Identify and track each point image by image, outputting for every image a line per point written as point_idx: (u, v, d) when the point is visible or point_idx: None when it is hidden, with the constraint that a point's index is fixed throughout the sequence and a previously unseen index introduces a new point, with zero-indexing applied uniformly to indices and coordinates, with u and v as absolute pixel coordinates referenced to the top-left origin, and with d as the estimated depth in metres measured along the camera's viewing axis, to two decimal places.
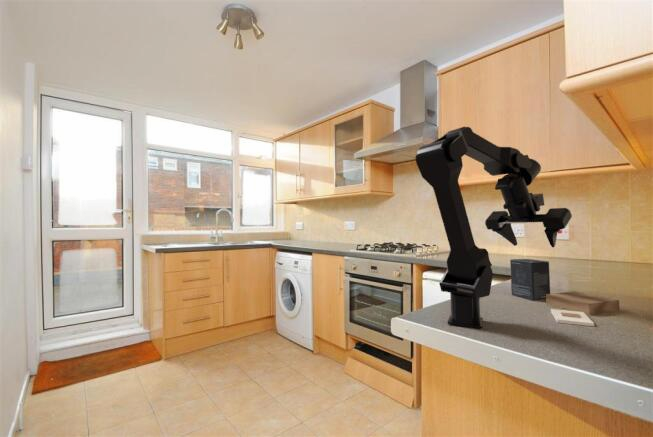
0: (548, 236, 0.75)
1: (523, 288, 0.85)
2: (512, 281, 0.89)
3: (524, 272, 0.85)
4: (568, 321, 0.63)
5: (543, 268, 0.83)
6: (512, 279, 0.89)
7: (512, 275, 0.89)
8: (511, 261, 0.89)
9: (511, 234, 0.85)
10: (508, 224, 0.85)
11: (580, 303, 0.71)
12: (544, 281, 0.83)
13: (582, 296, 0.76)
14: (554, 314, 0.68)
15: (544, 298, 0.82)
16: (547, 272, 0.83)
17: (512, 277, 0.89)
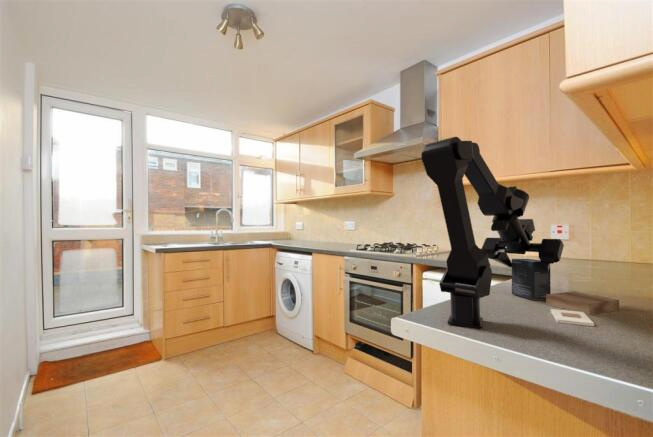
0: (543, 265, 0.79)
1: (523, 287, 0.85)
2: (512, 280, 0.89)
3: (525, 271, 0.85)
4: (568, 321, 0.63)
5: None
6: (513, 278, 0.89)
7: (513, 274, 0.89)
8: (512, 260, 0.89)
9: (506, 258, 0.89)
10: None
11: (580, 303, 0.71)
12: (545, 281, 0.83)
13: (582, 296, 0.76)
14: (554, 314, 0.68)
15: (544, 298, 0.82)
16: (548, 272, 0.83)
17: (513, 276, 0.89)
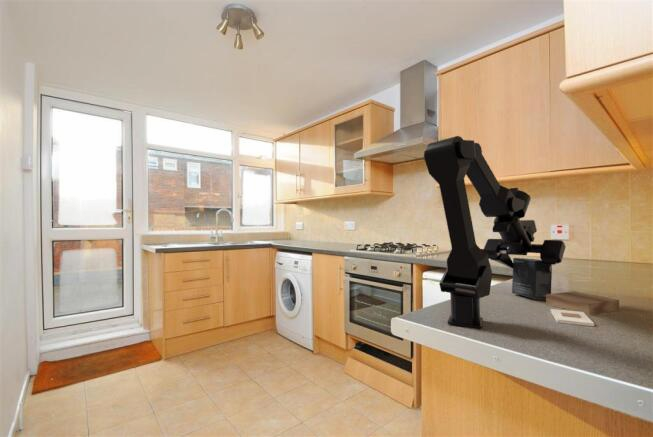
0: (545, 266, 0.79)
1: (524, 286, 0.85)
2: (513, 279, 0.89)
3: (527, 270, 0.85)
4: (568, 321, 0.63)
5: None
6: (514, 277, 0.89)
7: (514, 273, 0.89)
8: (514, 259, 0.89)
9: (508, 259, 0.89)
10: None
11: (580, 303, 0.71)
12: (546, 280, 0.83)
13: (582, 296, 0.76)
14: (554, 314, 0.68)
15: (545, 297, 0.83)
16: (549, 272, 0.83)
17: (514, 275, 0.89)
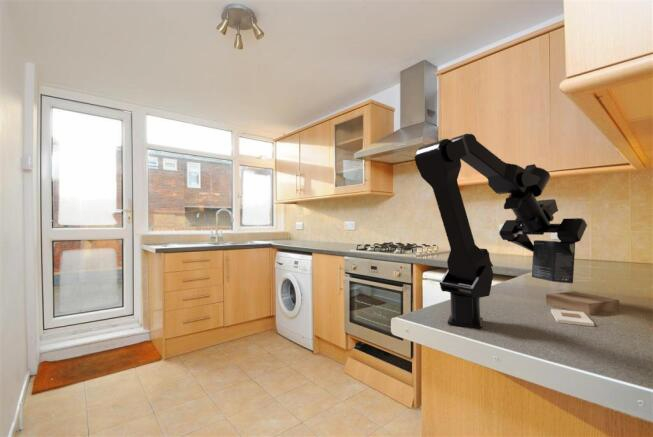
0: (565, 246, 0.75)
1: (543, 269, 0.81)
2: (533, 263, 0.85)
3: (546, 252, 0.80)
4: (568, 321, 0.63)
5: None
6: (533, 261, 0.85)
7: (534, 256, 0.85)
8: (534, 242, 0.85)
9: (528, 241, 0.85)
10: None
11: (580, 303, 0.71)
12: (567, 263, 0.78)
13: (582, 296, 0.76)
14: (554, 314, 0.68)
15: (566, 281, 0.78)
16: (572, 254, 0.78)
17: (534, 258, 0.85)
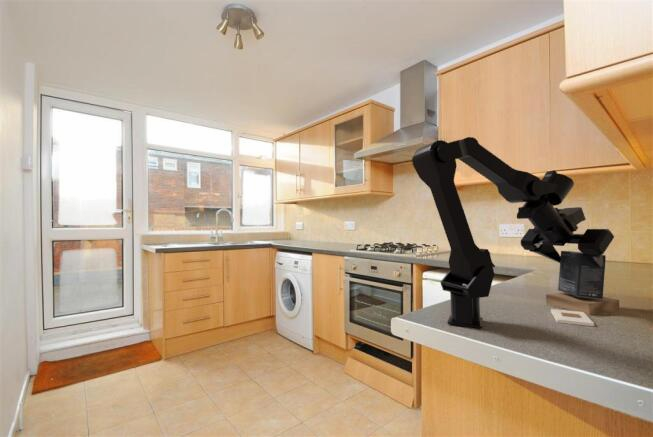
0: (589, 259, 0.69)
1: (568, 283, 0.75)
2: (559, 275, 0.79)
3: (572, 265, 0.75)
4: (568, 321, 0.63)
5: None
6: (560, 273, 0.79)
7: (561, 268, 0.79)
8: (561, 252, 0.79)
9: (553, 252, 0.79)
10: None
11: (580, 303, 0.71)
12: (596, 277, 0.71)
13: None
14: (554, 314, 0.68)
15: (593, 296, 0.71)
16: (602, 267, 0.71)
17: (560, 270, 0.79)
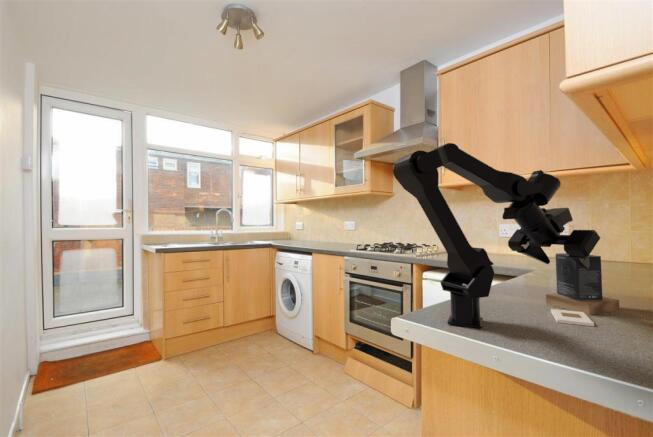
0: (575, 260, 0.68)
1: (567, 286, 0.75)
2: (557, 278, 0.79)
3: (569, 268, 0.74)
4: (568, 321, 0.63)
5: (592, 264, 0.72)
6: (557, 276, 0.79)
7: (557, 271, 0.79)
8: (556, 255, 0.79)
9: (541, 253, 0.78)
10: None
11: (580, 303, 0.71)
12: (593, 279, 0.71)
13: None
14: (554, 314, 0.68)
15: (593, 298, 0.71)
16: (598, 268, 0.71)
17: (557, 273, 0.79)
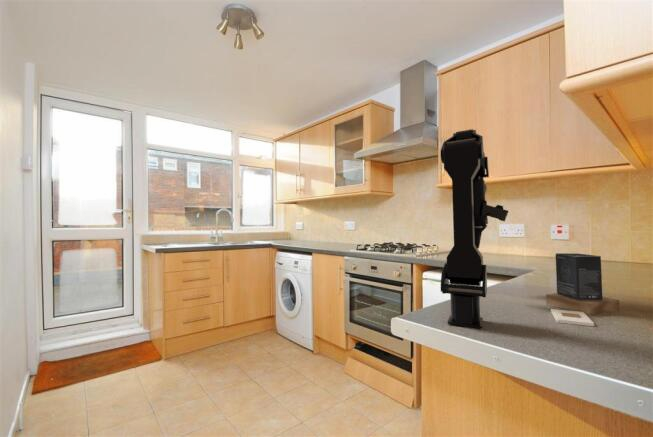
0: None
1: (567, 286, 0.75)
2: (557, 278, 0.79)
3: (569, 268, 0.74)
4: (568, 321, 0.63)
5: (592, 264, 0.72)
6: (557, 276, 0.79)
7: (557, 271, 0.79)
8: (556, 255, 0.79)
9: None
10: None
11: (580, 303, 0.71)
12: (593, 279, 0.71)
13: None
14: (554, 314, 0.68)
15: (593, 298, 0.71)
16: (598, 268, 0.71)
17: (557, 273, 0.79)
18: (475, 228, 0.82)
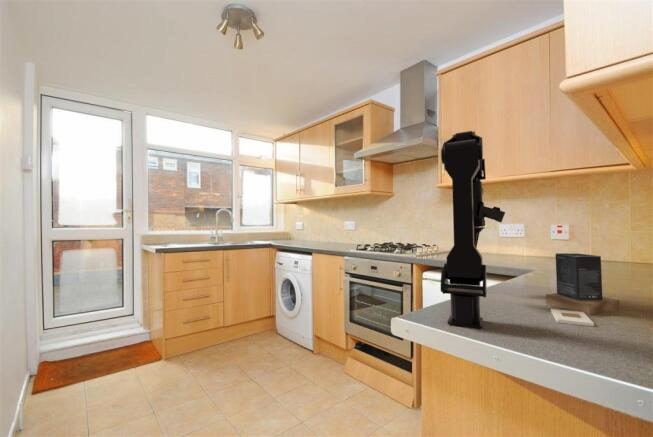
0: None
1: (567, 286, 0.75)
2: (557, 278, 0.79)
3: (569, 268, 0.74)
4: (568, 321, 0.63)
5: (592, 264, 0.72)
6: (557, 276, 0.79)
7: (557, 271, 0.79)
8: (556, 255, 0.79)
9: None
10: None
11: (580, 303, 0.71)
12: (593, 279, 0.71)
13: None
14: (554, 314, 0.68)
15: (593, 298, 0.71)
16: (598, 268, 0.71)
17: (557, 273, 0.79)
18: None
